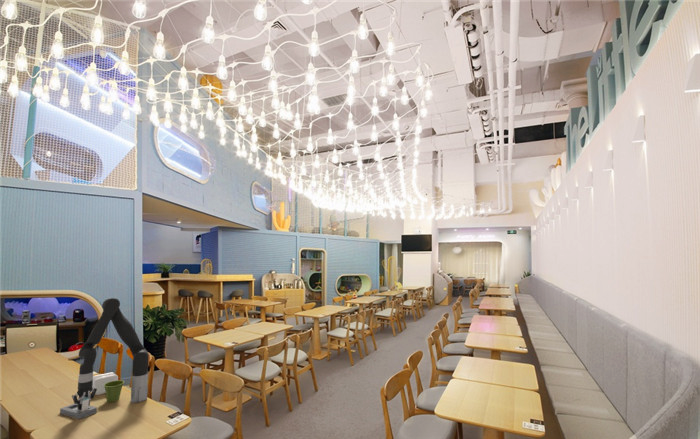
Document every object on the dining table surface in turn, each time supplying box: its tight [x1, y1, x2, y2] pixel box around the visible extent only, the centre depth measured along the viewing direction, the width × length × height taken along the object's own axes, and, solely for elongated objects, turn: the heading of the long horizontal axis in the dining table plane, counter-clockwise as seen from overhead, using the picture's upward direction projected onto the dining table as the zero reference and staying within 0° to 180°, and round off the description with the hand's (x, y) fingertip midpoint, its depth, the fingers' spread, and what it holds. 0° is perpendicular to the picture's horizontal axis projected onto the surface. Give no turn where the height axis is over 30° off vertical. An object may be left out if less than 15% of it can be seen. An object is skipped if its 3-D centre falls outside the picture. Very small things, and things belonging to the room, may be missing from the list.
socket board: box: [59, 402, 98, 420], centre depth 218 cm, size 20×10×3 cm, turn 67°
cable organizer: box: [91, 371, 119, 396], centre depth 252 cm, size 15×11×12 cm
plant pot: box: [104, 379, 125, 403], centre depth 237 cm, size 12×12×11 cm
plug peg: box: [79, 397, 89, 412], centre depth 216 cm, size 4×4×10 cm
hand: (83, 408), depth 216 cm, fingers closed on plug peg, 3 cm apart
